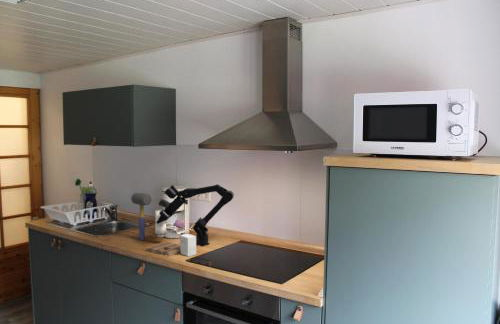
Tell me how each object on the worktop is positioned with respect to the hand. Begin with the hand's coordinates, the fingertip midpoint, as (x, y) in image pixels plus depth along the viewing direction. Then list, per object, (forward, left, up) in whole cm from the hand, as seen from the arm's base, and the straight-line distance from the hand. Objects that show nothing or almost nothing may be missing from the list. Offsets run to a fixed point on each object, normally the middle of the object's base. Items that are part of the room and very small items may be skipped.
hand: (158, 222), depth 247 cm
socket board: (-15, +8, -13) cm, 22 cm away
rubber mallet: (+15, 0, -14) cm, 20 cm away
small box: (-30, +6, -14) cm, 34 cm away
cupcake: (+7, -26, -14) cm, 30 cm away
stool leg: (-1, -1, -9) cm, 9 cm away
